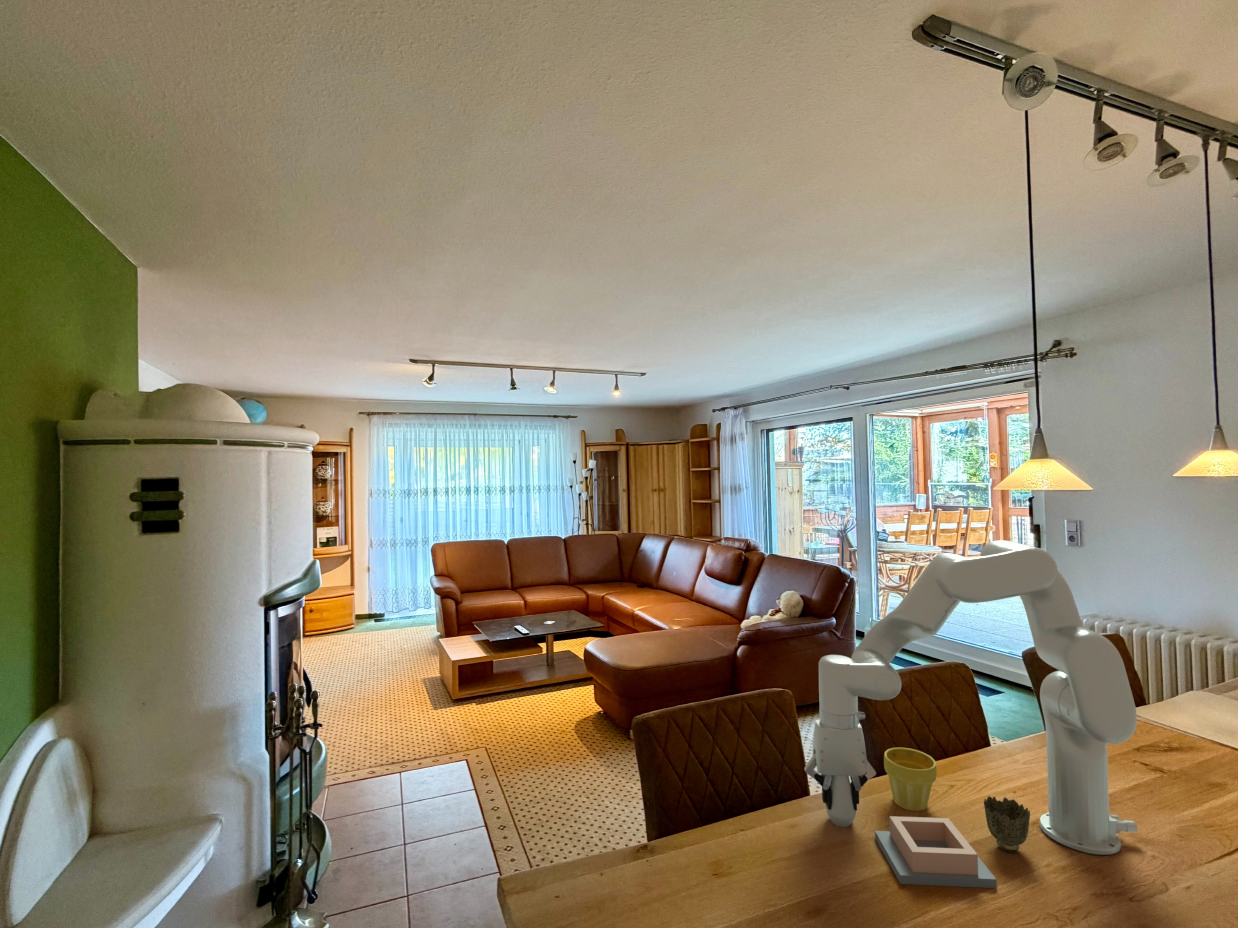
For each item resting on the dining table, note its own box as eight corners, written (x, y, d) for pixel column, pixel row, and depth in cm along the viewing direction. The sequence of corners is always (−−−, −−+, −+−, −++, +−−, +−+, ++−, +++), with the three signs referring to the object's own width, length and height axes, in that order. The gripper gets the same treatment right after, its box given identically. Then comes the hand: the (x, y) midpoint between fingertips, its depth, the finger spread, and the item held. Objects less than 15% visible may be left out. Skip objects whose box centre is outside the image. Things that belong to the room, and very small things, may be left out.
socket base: (960, 841, 115) (959, 815, 115) (996, 887, 102) (995, 858, 102) (875, 838, 116) (874, 812, 116) (900, 883, 103) (899, 854, 104)
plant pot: (949, 810, 126) (947, 764, 126) (911, 820, 122) (910, 772, 122) (909, 786, 135) (908, 743, 136) (874, 795, 132) (873, 751, 132)
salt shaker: (858, 830, 119) (856, 765, 119) (828, 827, 120) (827, 763, 120) (853, 814, 125) (851, 752, 125) (824, 811, 126) (823, 750, 126)
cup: (1024, 840, 115) (1023, 798, 115) (1037, 864, 108) (1035, 819, 108) (980, 833, 117) (979, 792, 118) (990, 856, 110) (989, 812, 111)
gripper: (874, 711, 126) (876, 797, 125) (793, 709, 127) (795, 795, 127) (887, 725, 118) (889, 818, 118) (801, 724, 120) (803, 815, 119)
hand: (840, 805), depth 122 cm, fingers open, 4 cm apart
